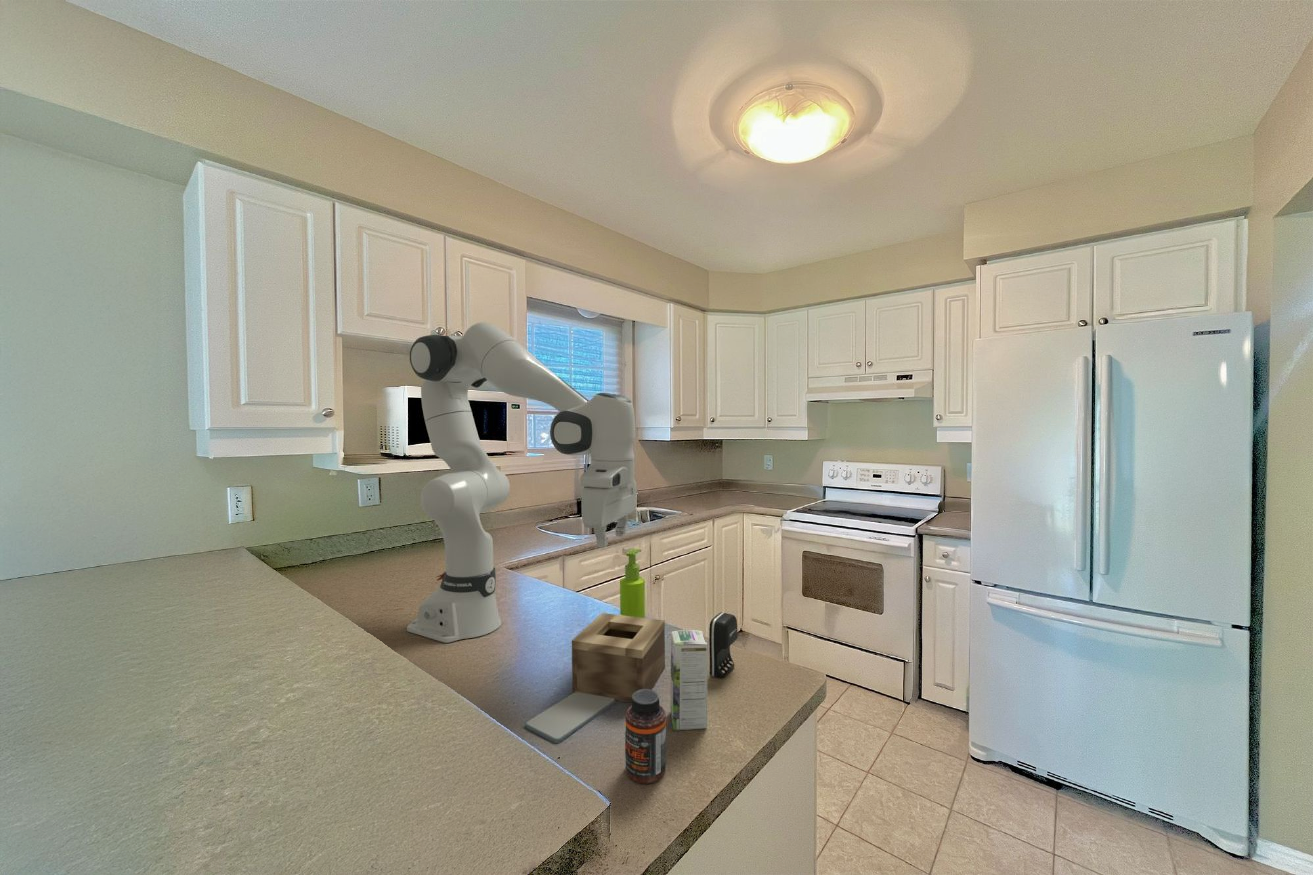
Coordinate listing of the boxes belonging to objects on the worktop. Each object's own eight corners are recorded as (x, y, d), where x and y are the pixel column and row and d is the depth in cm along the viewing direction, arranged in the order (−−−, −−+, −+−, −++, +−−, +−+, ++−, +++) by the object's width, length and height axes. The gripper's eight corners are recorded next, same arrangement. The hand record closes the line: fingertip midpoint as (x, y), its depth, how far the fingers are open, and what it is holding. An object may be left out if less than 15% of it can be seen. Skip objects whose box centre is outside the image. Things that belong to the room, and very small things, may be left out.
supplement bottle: (617, 778, 72) (617, 701, 72) (636, 753, 78) (635, 681, 77) (656, 791, 70) (655, 710, 69) (672, 764, 75) (671, 689, 75)
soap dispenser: (650, 629, 123) (649, 548, 123) (639, 641, 117) (639, 555, 116) (627, 626, 125) (627, 546, 124) (616, 637, 119) (615, 553, 118)
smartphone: (617, 699, 92) (557, 740, 80) (617, 704, 92) (557, 746, 80) (584, 685, 97) (522, 722, 84) (584, 690, 97) (522, 728, 85)
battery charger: (726, 682, 98) (726, 624, 98) (708, 677, 100) (708, 620, 100) (739, 666, 104) (739, 612, 104) (722, 662, 106) (722, 609, 106)
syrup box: (669, 711, 89) (669, 630, 88) (702, 709, 89) (702, 628, 89) (673, 731, 83) (672, 644, 82) (709, 729, 83) (708, 643, 83)
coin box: (572, 692, 95) (571, 640, 94) (602, 658, 108) (601, 612, 108) (642, 704, 91) (642, 650, 90) (664, 668, 104) (664, 620, 104)
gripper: (617, 467, 113) (617, 528, 114) (575, 478, 94) (574, 552, 94) (644, 469, 111) (643, 531, 112) (607, 480, 92) (606, 555, 92)
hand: (611, 541), depth 103 cm, fingers open, 8 cm apart
